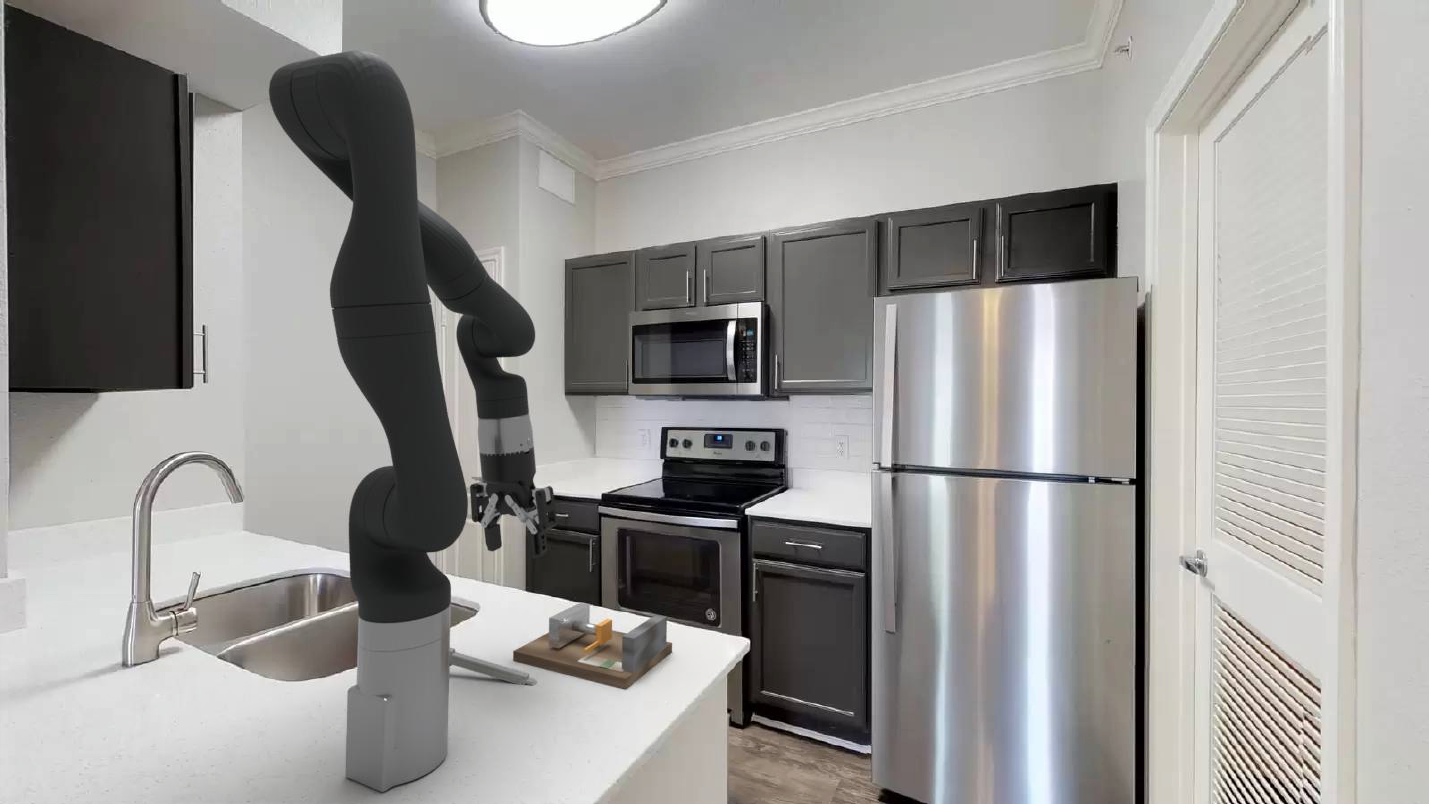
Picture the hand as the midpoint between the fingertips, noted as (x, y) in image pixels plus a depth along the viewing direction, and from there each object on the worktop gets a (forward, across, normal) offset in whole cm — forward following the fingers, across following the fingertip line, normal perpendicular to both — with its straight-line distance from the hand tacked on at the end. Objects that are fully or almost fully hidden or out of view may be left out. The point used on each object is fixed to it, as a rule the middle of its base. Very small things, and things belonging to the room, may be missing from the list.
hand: (516, 552), depth 85 cm
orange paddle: (+17, +8, +7) cm, 20 cm away
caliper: (+18, -6, -6) cm, 20 cm away
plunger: (+18, +4, +8) cm, 20 cm away
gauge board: (+20, +6, +8) cm, 22 cm away
